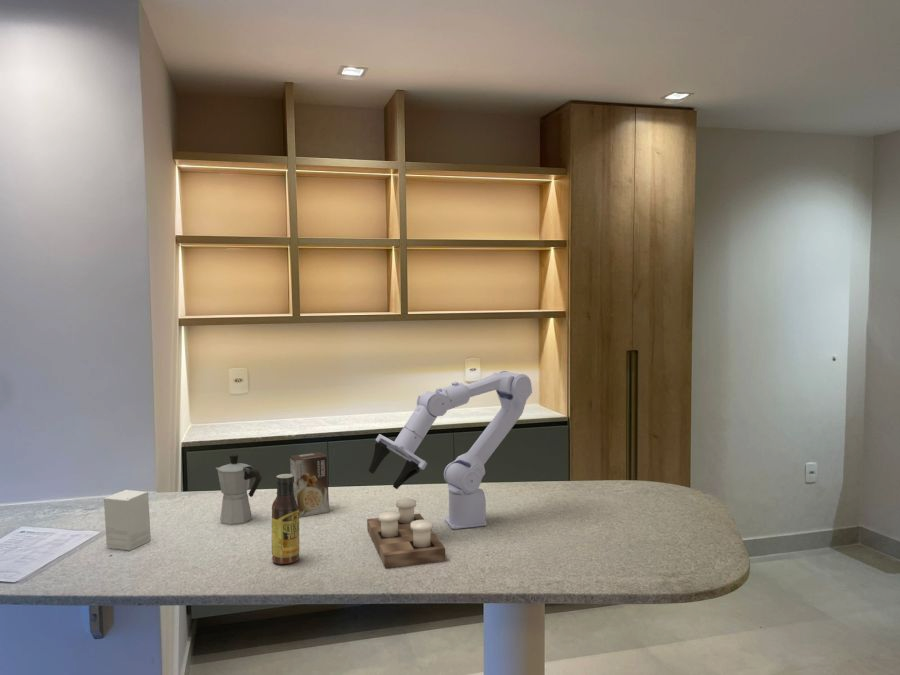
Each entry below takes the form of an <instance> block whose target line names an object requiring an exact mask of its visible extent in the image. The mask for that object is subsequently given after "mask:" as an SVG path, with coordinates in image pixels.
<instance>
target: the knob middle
mask: <svg viewBox="0 0 900 675" xmlns="http://www.w3.org/2000/svg"><path fill="white" fill-rule="evenodd" d="M378 518H379V521H381V536H382V537H385V538H392V537H396V536H397V535H398V520H399V519H400V513H399V512H398V511H395V510H387V511H385V510H384V511H382V512H380V513H379V514H378Z"/></svg>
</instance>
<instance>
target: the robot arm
mask: <svg viewBox="0 0 900 675" xmlns="http://www.w3.org/2000/svg"><path fill="white" fill-rule="evenodd" d="M531 381H532V380H531V379H530V377H529V376H528V375H526V374H524V373H516V372H515V373H514V372H510V371H506V370H502V371H499V372H494V373H492V374H490V375H488V376H485V377H483V378H480V379H478V380H476V381H473V382H471V383H470V382H469V384H464V383H462V382H458V381H454V382H451V385H448V386H446V387H443V388H442V387H438V388H436V389H435V391H434V392H433V391H425V392H423V393H422V394H421V395H418V396H417V399H416V407H415V409H414V410H413V412H412V413H411V415H410V417H409V419H408V420H407V421H406V423H405V424H404V426H403V427H402V429H401V431H400V432H399V434H398V435H397V437H396V438H395V440H394V441H393V440H392V439H390V438H388V437H386V436H384V435H382V434H380V433H379V434H378V435H377V437H376V438H375V441H376V442H375V444H374V451H373V452H374V454H373V456H372V460H371V463H370V466H369V468H368V472H369V473H370V474H374V473H375V472H376V471H377V469H378V467H379V466H380V464H381V463H382V461H384V460H385V458H386V457H387V456H388V454H390V452H391V451H392V452H394V453H395V454H396V455H399V456H400V457H402V458H403V459H405V461H406V462H405V463H404V466H403V469H402V470H401V471H400V473H399V476H398V477H397V478H396V480H395V481H394V483H393V484H392V487H393V488H394V489H396V490H398V489H399V488H400V487H401V486H402V485H403V484H405V482H406V481H407V480H409V479H410V478H412V477H413V476H415V475H417V474H419V472H420V469H421V470H422V471H424V470H425V468H426V467H427V465H428V462H427V461H426V460H424V459H422V458H421V457H419V456H418V455H416V454H415V452H416V451H417V449H418V447H419V446H420V445H421V443H422V442H423V440H424V438H425V437H426V435H427V433H428V432H429V431H430V429H431V427H433V424H434V423H435V422H436V420H437V418H438V417H443V416H444V415H445V414H446V413H447V412H448V411H450V410H452V409H455V408H458V407H461V406H463V405H466V404H468V403H469V401H470V398H473V397H476V396H479V395H482V394H486V393H489V392H492V391H495V392H496V395H497V398H498V401H499V402H500V406H501V408H500V410H499V411H498V412H497V413H496V415H495V416H494V417H493V418H492V419H491V421H490V422H489V423H488V424H487V426H486V427H485V429H484V430H483V431H482V433H481V434H480V435H479V437H477V440H475V442H474V443H473V445H472V446H471V447H470V449H469V450H468V451H467V452H465V453H463V454H460V455H458V456H457V457H456V458H455V460H453V461H452V462H449V463H447V465H446V466H445V468H444V471H443V479H444V481H445V482H446V484H448V485H447V488H448V517H444V521H445V522H446V523H447V524H448V526H449V527H450V528H451V529H453V530H457V529H466V528H467V529H468V528H474V527H475V528H476V527H485V526H487V525H488V524H487V505H486V504H487V501H486V495H485V491H484V490H483V489H482V488H479V487H480V486H481V484H482V480H483V477H484V476H485V474H486V470H485V464H486V463H487V461H489V458H491V456H492V454H493V453H494V452H495V451H496V449H497V448H498V447H499V445H500V444H501V443H502V442H503V440H504V439H505V438H506V436H507V435H508V434H509V432H510V431H511V430H512V429H513V427H514V426H515V424H516V423H517V422H518V421H519V419H520V418H521V417H522V415H523V413H524V411H525V410H524V409H525V406H526V402H527V400H528V399H529V398H530V396H531V395H532V393H533V389H532V388H533V386H532V382H531Z"/></svg>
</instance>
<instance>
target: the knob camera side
mask: <svg viewBox="0 0 900 675" xmlns="http://www.w3.org/2000/svg"><path fill="white" fill-rule="evenodd" d="M410 526H411V530H413V545H414V546H415V547H418V548H425V547H428V546H430V545H431V538H430V530H431V529H432V530H433V528H434V522H433V521H431V520H428V519H424V520H416V521H413V522H411V524H410Z"/></svg>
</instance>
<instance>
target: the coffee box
mask: <svg viewBox="0 0 900 675" xmlns="http://www.w3.org/2000/svg"><path fill="white" fill-rule="evenodd" d="M289 467H290V468H289V469H290V470H289V471H290V474H293V475H294V482H293V491H294V496H295V500H296V503H297V506H298V508H299V518H301V517H308V516H314V515H318V514H319V515H320V514H326V513H329V512H330V501H329V500H330V498H329V497H330V496H329V479H328V478H329V475H328V473H329V472H328V471H329V470H328V456H327V455H326V454H324V453H322V452H321V451H319V452H310V453H301V454H294V455H293V454H292V455H289Z"/></svg>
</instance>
